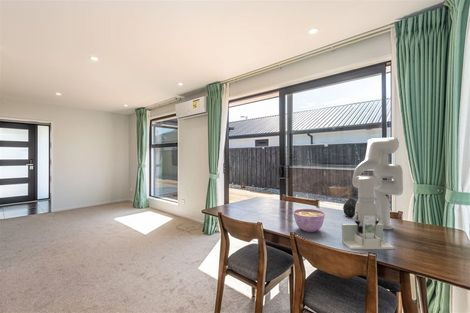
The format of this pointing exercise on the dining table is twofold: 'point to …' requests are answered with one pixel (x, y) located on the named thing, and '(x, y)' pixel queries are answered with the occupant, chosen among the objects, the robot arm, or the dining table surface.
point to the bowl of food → (309, 219)
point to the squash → (350, 207)
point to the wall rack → (356, 242)
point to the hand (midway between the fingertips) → (366, 232)
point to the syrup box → (368, 227)
